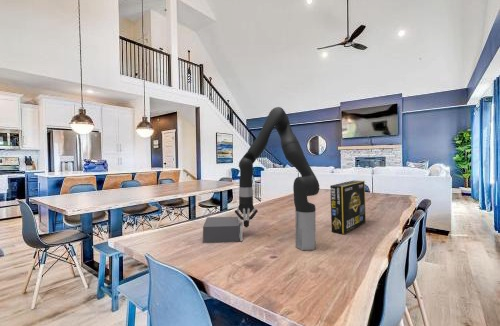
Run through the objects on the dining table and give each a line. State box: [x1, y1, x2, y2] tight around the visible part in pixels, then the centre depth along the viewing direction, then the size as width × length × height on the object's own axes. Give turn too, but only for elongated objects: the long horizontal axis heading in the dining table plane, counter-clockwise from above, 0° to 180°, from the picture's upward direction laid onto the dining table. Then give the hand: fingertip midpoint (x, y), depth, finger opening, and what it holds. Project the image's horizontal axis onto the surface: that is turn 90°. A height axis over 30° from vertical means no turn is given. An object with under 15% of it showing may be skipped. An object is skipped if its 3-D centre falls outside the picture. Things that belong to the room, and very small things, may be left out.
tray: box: [238, 217, 243, 242], centre depth 138 cm, size 18×20×8 cm
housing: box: [202, 216, 240, 244], centre depth 138 cm, size 18×20×8 cm
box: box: [329, 180, 367, 235], centre depth 153 cm, size 34×8×27 cm, turn 137°
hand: (246, 227), depth 139 cm, fingers closed
